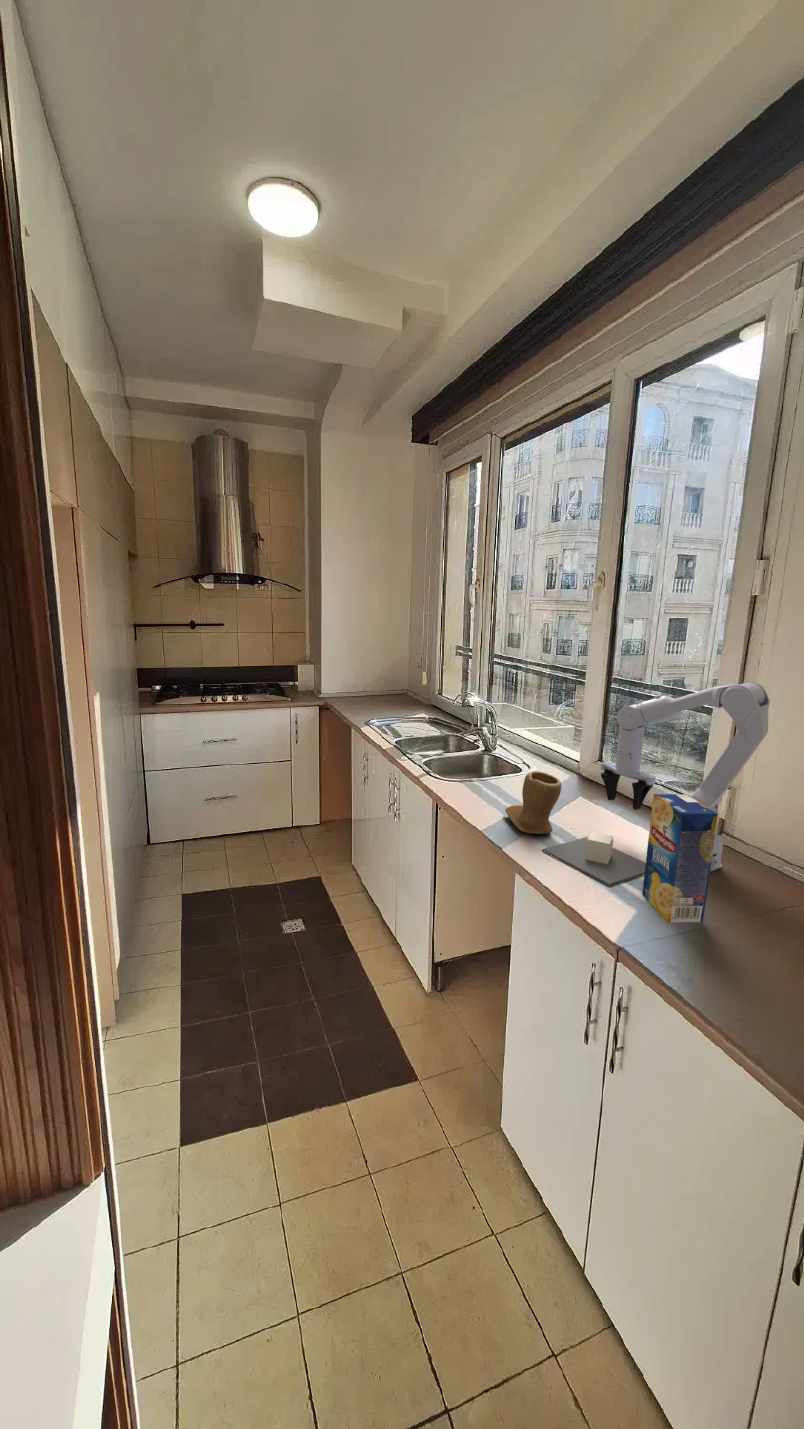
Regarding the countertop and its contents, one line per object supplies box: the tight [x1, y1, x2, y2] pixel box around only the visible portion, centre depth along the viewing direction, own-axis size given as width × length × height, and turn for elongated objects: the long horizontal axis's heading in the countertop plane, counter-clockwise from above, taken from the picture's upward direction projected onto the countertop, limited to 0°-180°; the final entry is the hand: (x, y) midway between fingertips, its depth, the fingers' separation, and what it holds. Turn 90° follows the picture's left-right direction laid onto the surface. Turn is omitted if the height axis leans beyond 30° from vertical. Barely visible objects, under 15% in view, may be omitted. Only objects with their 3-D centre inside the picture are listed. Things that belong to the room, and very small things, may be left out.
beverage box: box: [641, 793, 719, 924], centre depth 116 cm, size 7×11×22 cm, turn 4°
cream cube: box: [585, 831, 614, 864], centre depth 138 cm, size 5×5×5 cm
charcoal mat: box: [542, 836, 646, 887], centre depth 138 cm, size 20×16×1 cm
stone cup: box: [504, 770, 562, 835], centre depth 156 cm, size 15×12×15 cm
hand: (623, 804), depth 149 cm, fingers open, 7 cm apart
